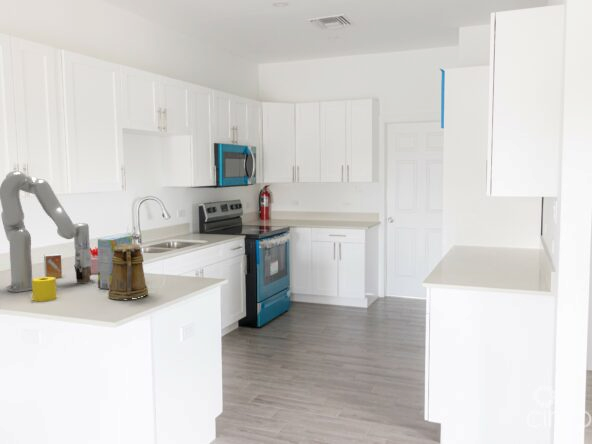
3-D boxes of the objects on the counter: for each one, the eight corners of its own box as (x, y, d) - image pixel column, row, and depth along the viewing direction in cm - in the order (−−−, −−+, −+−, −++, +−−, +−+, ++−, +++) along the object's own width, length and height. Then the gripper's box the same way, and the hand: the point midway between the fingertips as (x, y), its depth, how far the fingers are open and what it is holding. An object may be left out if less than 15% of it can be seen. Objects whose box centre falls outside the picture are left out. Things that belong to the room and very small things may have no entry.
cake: (75, 270, 320) (74, 247, 318) (108, 267, 332) (108, 244, 330) (85, 276, 304) (83, 251, 303) (119, 271, 316) (118, 248, 315)
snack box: (113, 289, 268) (111, 239, 266) (97, 289, 270) (95, 239, 267) (134, 281, 289) (132, 234, 287) (119, 280, 291) (118, 234, 289)
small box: (46, 279, 295) (45, 256, 294) (44, 277, 300) (43, 254, 299) (62, 277, 299) (61, 254, 298) (60, 275, 305) (59, 253, 303)
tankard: (144, 290, 267) (142, 241, 265) (152, 300, 246) (151, 247, 243) (106, 293, 259) (104, 243, 257) (111, 304, 238) (109, 250, 236)
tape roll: (33, 297, 253) (32, 278, 252) (56, 295, 257) (55, 276, 256) (32, 302, 244) (31, 282, 243) (56, 299, 248) (55, 280, 247)
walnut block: (85, 283, 284) (85, 268, 284) (76, 283, 285) (76, 268, 284) (90, 281, 289) (89, 266, 289) (81, 281, 290) (80, 266, 289)
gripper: (81, 248, 276) (82, 281, 278) (96, 243, 294) (97, 274, 295) (67, 248, 277) (69, 280, 279) (82, 243, 294) (84, 274, 296)
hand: (83, 277), depth 287 cm, fingers open, 9 cm apart
